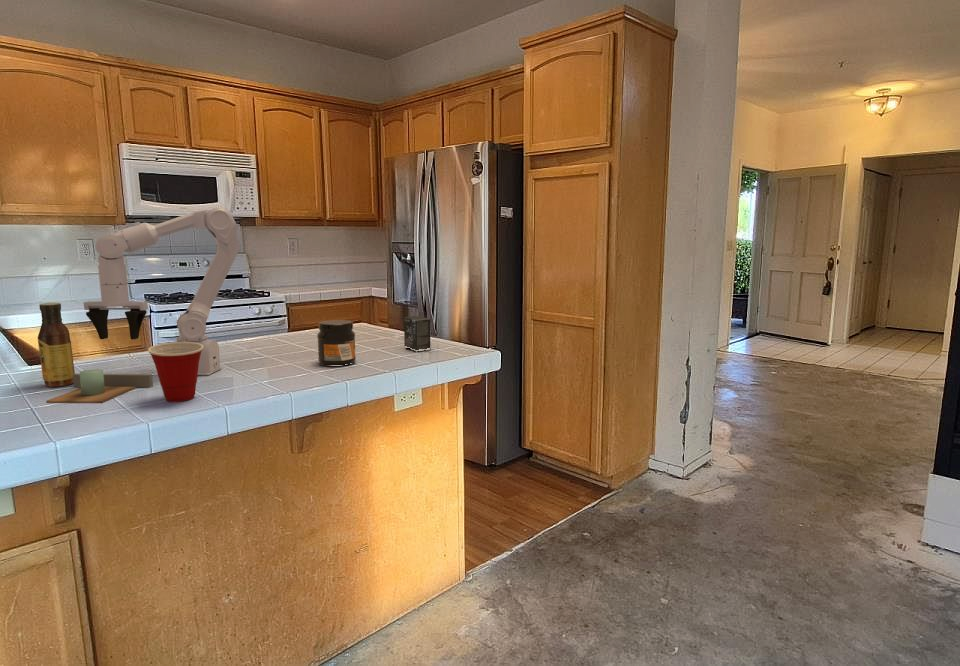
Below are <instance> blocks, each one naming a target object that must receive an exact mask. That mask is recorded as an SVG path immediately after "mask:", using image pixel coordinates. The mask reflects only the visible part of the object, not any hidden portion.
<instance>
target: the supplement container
mask: <svg viewBox="0 0 960 666" xmlns="http://www.w3.org/2000/svg"><path fill="white" fill-rule="evenodd" d="M353 329H354V322H353V321H351V320H346V319H332V320H329V319H328V320H324V321H319V322H318V330H319V331H318V333H316V334H317V335H316V337H317V350H318V351H317V352H318V353H317V354H318V357H317V359H318V363H319V364H320V365H321V364H323V365H345V364H350V363H353V362H354V363H355V362H356V358H357V357H356V333H355V331H354V330H353ZM354 363H353V364H354ZM323 365H322V366H323ZM350 365H351V364H350Z"/></svg>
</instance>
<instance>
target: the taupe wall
mask: <svg viewBox="0 0 960 666" xmlns="http://www.w3.org/2000/svg"><path fill="white" fill-rule="evenodd" d="M103 374H104V387H135V388H152V387H154V381H153V373H103ZM73 380H74V383H73V387H74V388H81V384H80V373H75V374H74V375H73Z"/></svg>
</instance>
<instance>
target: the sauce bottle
mask: <svg viewBox="0 0 960 666" xmlns="http://www.w3.org/2000/svg"><path fill="white" fill-rule="evenodd" d="M38 306H39V311H40V314H41V315H40V316H41V324H40V325H41V326H40V327H39V331H38V332H39V333H38V335H37V344H38V352H39V359H40V365H41V373H42V380H43V382H44V385H45V386H46V387H47V388H59V387H66V386H70V385H72V384H73V385H74V380H73V375H74V374H76V371H75V364H74V356H73V347H72V341H71V336H70V335H71V334H70V330H69V329H68V327H67V326H66V325H65V324H64V322H62V321H63V319H62V313H61V312H62V311H61V310H62V303H60V302H45V303H40V304H39V305H38Z"/></svg>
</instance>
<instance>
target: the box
mask: <svg viewBox="0 0 960 666" xmlns="http://www.w3.org/2000/svg"><path fill="white" fill-rule="evenodd" d="M403 334H404V336H403V338H404V339H403V340H404V344H403V345H404V346H407V347H410V348H412V349H415V350H419V349H427V348H430V349H431V318H428V317H423V316H420V315H413V316H412V315H411V316H404V317H403Z"/></svg>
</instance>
